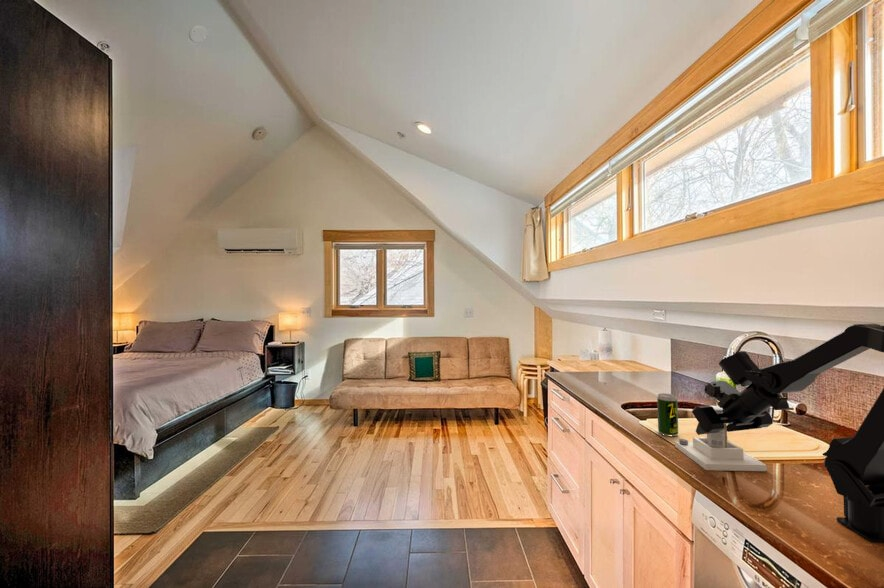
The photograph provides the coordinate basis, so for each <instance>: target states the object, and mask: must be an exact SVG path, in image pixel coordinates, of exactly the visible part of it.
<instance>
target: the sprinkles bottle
mask: <svg viewBox="0 0 884 588" xmlns="http://www.w3.org/2000/svg"><path fill="white" fill-rule="evenodd" d="M711 406H712V407H713V408H714V410H715V411H716V413H717V414H722V413H723V411H722V410H723V409H722V408H720V407H719V406H717V405H711ZM727 425H728V424H724V429H723V430H721V431H719V432H718V433H709V434H706V437H707V445H709V446H710V447H712V448H727V447H728V441H729V440H728V433H727ZM727 440H728V441H727Z"/></svg>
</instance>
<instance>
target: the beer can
mask: <svg viewBox="0 0 884 588" xmlns="http://www.w3.org/2000/svg"><path fill="white" fill-rule="evenodd" d="M656 400H657V404H656V405H657V429H658V430H657V431H658V433H659V434H660V435H661V434H664V435H672V436H676V437H678V435H679V410H678V409H679V407H678V398H677V395H675V394H672V393H664V392H662V393H658V394H657V399H656ZM664 435H663V436H664Z"/></svg>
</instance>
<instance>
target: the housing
mask: <svg viewBox="0 0 884 588" xmlns="http://www.w3.org/2000/svg"><path fill="white" fill-rule="evenodd" d="M727 441H728V447H727V448H712V447H710V446H709V445H707V436H706V437H704V436H703V437H702V436H701V437H700V436H699V437H698V436H697V437H696V436H695V437H694V436H692V441H688V440H687V439H686V438H680V439H679V441H675V442H674V446H675V448H676V449H677V450H679V451H680V452H681V453H682V454H684V455H685V456H687V457H688V458H689V459H690V460H692V461H693V462H694V463H696V464H697V465H699V467H701V468H702V469H703V470H705V471H734V472H735V471H736V472H738V471H739V472H767V469H768V468H767V464H765V463H764V462H762V461H760V460H758V459H757V458H755V457H753V456H752V455H749V454H748V453H746V452H745V451H744V449H743V448H742V447H740V446H738V445H737V444H735V443H733V442H732V441H730V440H728V439H727Z"/></svg>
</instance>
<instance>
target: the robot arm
mask: <svg viewBox="0 0 884 588" xmlns="http://www.w3.org/2000/svg"><path fill="white" fill-rule="evenodd" d="M870 349H871V350H874V351H877V352H881V353H884V325H883V324H882V325H880V324H879V323H859V324H858V323H857V324H852V325H849V326H848V327H846V328H845V329H844V330H843V331H841V332H840V333H837V334H836V335H834V336H832V337H831V338H829V339H826V341H823V342H822V343H820V344H819V345H816V346H815V347H814V348H811V349H810V350H808V351H806V352H805V353H802V354H801V355H799V356H797V357H796V358H794V359H790V360H786V361H782V362H779V363H778V362H777V363H774V364H772V365H769V366H766V367H763V368H760V367H758V365H757V364H756V363H755V362H754V360H753V359H751V357H750V356H749V353H747V351H737V352H735V354H732V355H729V356H727V357H725V358H722V359H721V360H720V361H719V363H718V365H719V367H720V368H721V369H722V371H723V372H724V373H725V374H726V376H727V377H728V378H729V379H730V381H731V382H732V383H733V384H734V385H736V386H738V385H740V386H741V387H745V388H744V389H743V390H742V391H741V392H740V391H739V390H738V389H737V388H735V387H734V386H733V385H732V384H730V383H729V382H727V381H725V380H717V381H716V380H714V381H711V382H708V383H707V384H705V385H704V389H703V390H704V393H705V394H706V395H708V396H709V398H714V399H715V400H717V402H718V403H717V405H718V406H719V407H720V408H722V409H723V410H722V411H723V413H722V414H717V413H716V411H715V410H714V408H713V407H712V406H713V405H697V406H695V407H694V408H692V411H691V413H692V414H693V416H694V418H695V419H696V421H697V422H698V423H697V425H696V429H695V433H696V434H697V435H698V436H699V435H707V434H709V433H718V432H719V431H721V430H723V429H724V424H727V432H728V433H729V432H737V431H738V432H739V431H749V430H757V429H762V428H768V427H770V426H772V425H773V424H774V420H773V419H774V418H773V417H772V416H771V415H770V413H769V412H768V411H767V410H769V409H770V408H772V409H773V410H775V411H779V410H780V411H781V410H789V409H790V405H789V403H788V398H787V397H784V396H782V395H781V394H789V393H791V394H792V393H798V392H802V391H805V390H806V388H808V387H809V386H810V385H812V384H813V383H814V382H815V380H816V378H817V377H818V376H819V375H820V374H822V373H824V372H826V371H827V370H830V369H832V368H833V367H834V368H835V367H836V366H838V365H840V364H842V363H844V362H846V361H848V360H850V359H852V358H854V357H855V356H859V355H860V354H862V353H864V352H866V351H868V350H870ZM822 456H824V457H825V458H824V461H823V464H824V465H823V466H824V468H826V470H827V472H828V474H829V476H830V479H831V481H832V484H833V486H834V488H835V491H836V493H837V495H840V496H842V497H843V516H841V517H840V516H837V517H836V521H837V522H839V523H840V524H842V525H843V526H845V527H847V528H849V529H850V530H851V531H853V532H855V533H856V534H858V535H860V536H861V537H863V538H865V539H866V540H867V541H869V542H873V543H884V387H883V388H882V389H881V391H880V393H879V395H878V396H877V398H876V400H875V401H874V403H873V404H872V406H871V408H870V409H869V411H868V413H867V415H866V416H865V417H864V418H863V420H862V422H861V424H860V426H859V427H858V429H857V431H856V432H855V434H854V435H853V436H847V437H838V438H832V439H831V441H830V443H829V446H828V449H827V450H826V452H823V453H822Z"/></svg>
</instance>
